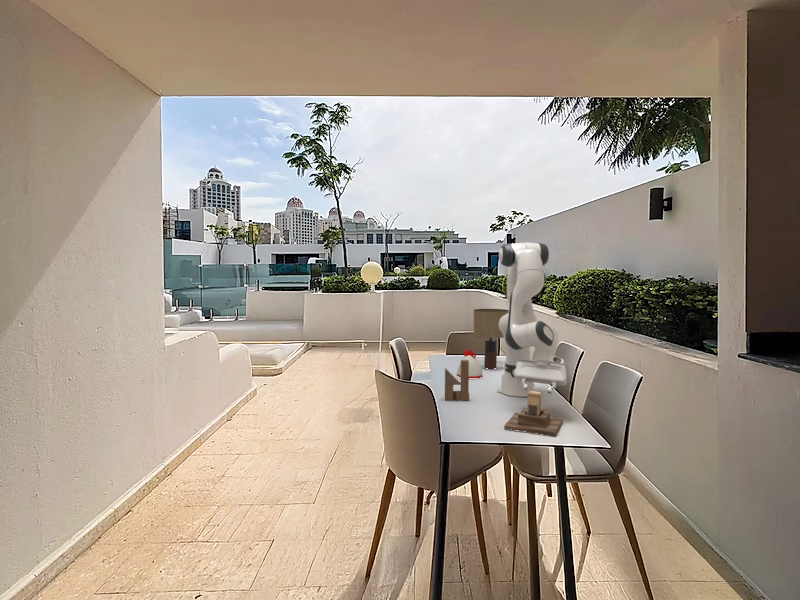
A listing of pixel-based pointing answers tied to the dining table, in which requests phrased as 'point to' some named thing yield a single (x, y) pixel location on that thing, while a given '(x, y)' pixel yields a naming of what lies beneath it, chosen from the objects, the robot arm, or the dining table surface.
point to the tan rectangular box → (534, 403)
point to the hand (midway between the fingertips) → (537, 391)
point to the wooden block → (457, 383)
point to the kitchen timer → (471, 365)
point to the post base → (534, 423)
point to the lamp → (489, 332)
